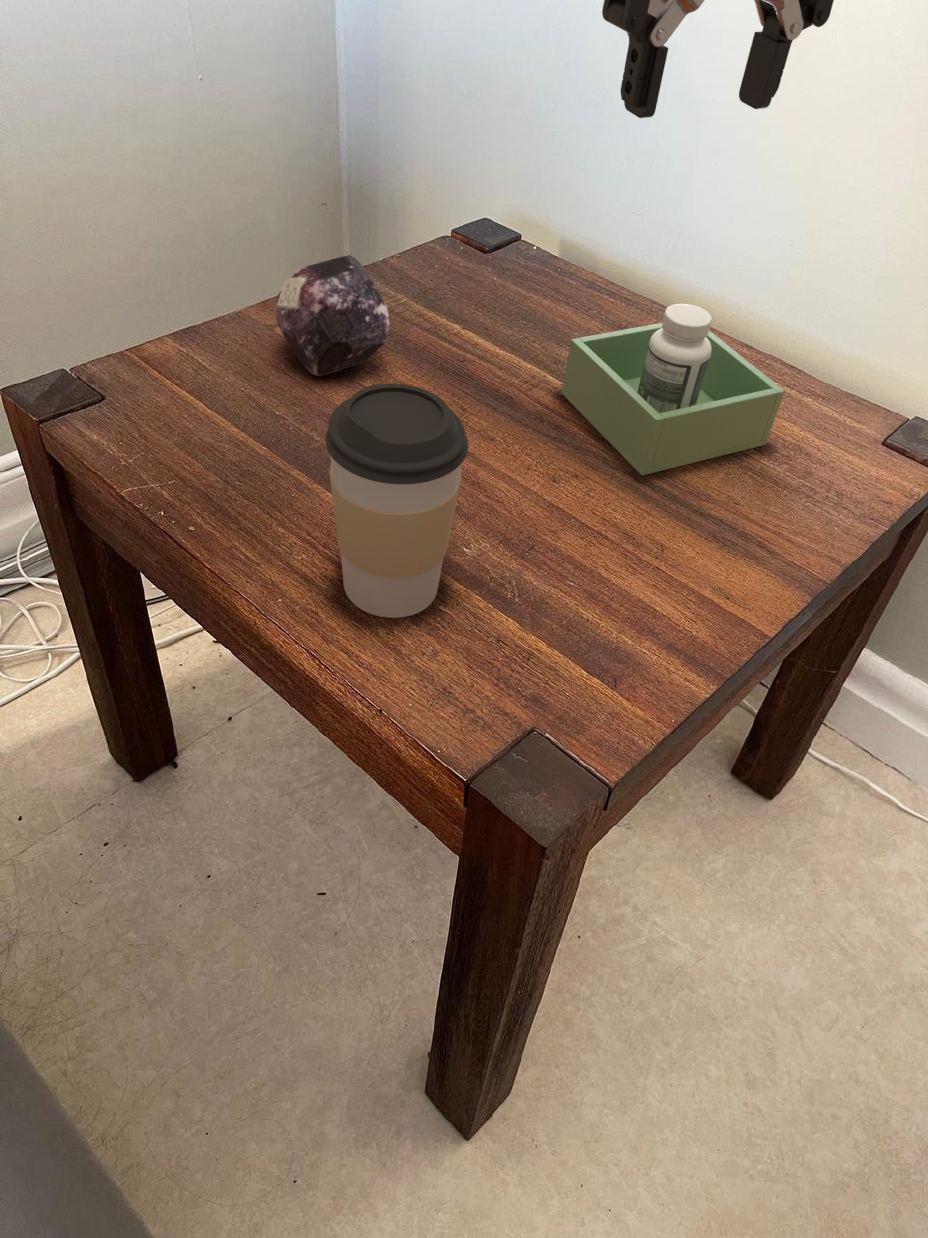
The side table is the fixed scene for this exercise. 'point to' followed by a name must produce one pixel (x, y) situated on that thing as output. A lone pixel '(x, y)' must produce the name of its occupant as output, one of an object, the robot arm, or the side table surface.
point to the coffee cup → (394, 494)
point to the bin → (717, 425)
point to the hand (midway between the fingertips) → (697, 108)
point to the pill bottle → (676, 359)
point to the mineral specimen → (332, 315)
